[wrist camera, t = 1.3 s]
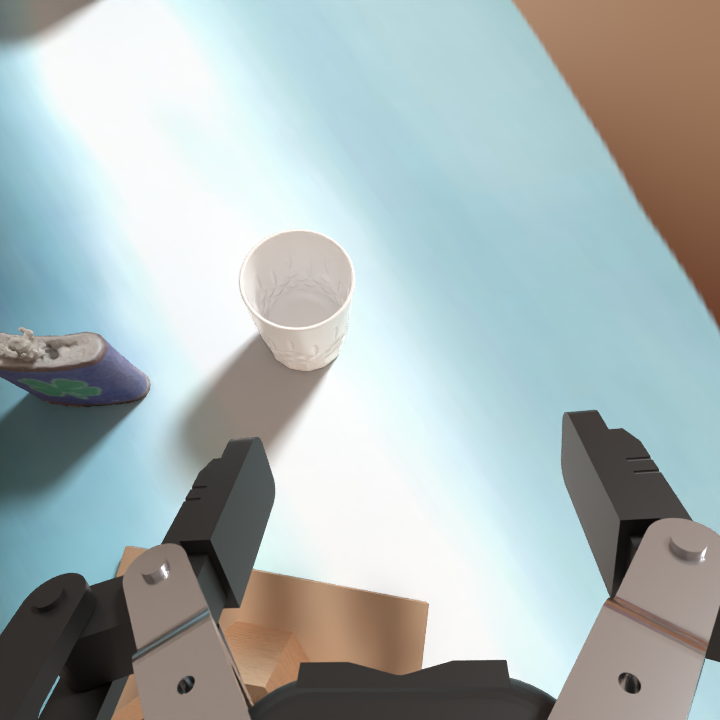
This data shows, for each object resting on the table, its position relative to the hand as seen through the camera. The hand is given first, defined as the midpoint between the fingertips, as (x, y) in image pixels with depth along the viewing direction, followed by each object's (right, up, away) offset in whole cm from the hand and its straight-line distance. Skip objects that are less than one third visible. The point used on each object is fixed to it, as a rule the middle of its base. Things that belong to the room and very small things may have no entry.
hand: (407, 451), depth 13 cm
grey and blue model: (-23, 0, +28) cm, 36 cm away
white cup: (-6, +4, +30) cm, 31 cm away
